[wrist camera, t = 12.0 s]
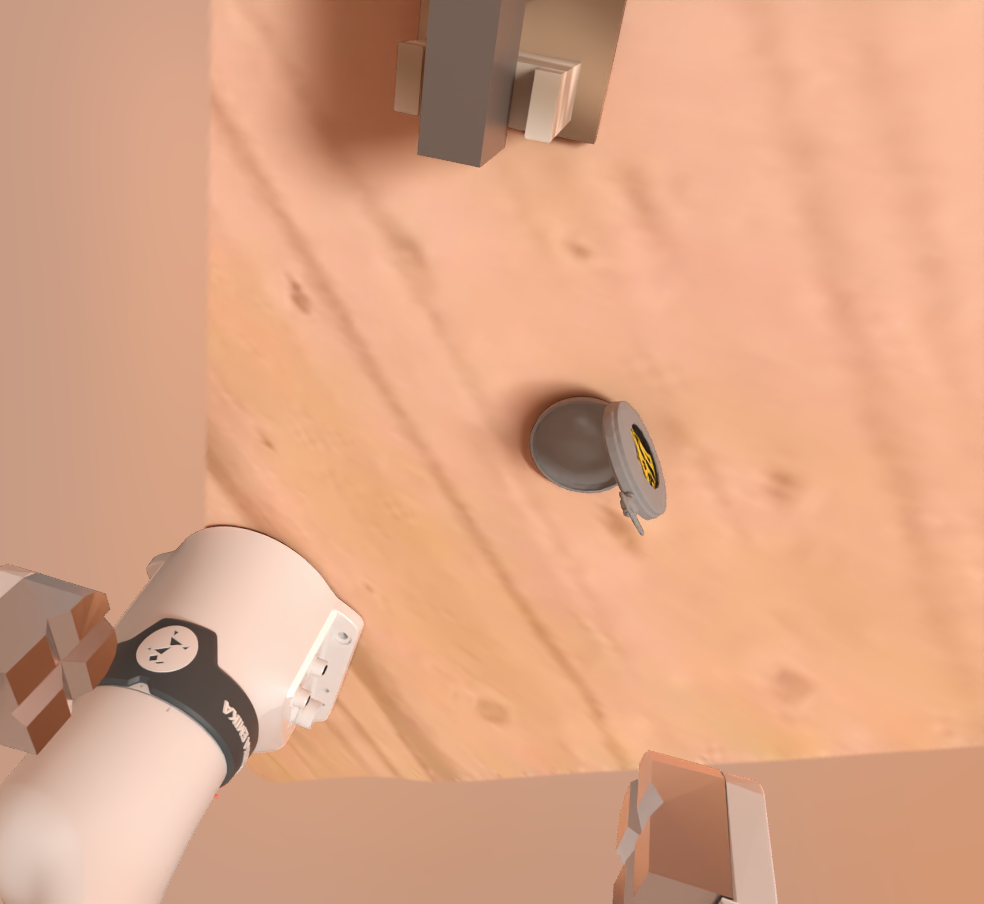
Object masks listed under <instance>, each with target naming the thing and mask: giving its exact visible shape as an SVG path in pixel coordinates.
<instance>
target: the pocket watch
mask: <svg viewBox="0 0 984 904" xmlns="http://www.w3.org/2000/svg"><path fill="white" fill-rule="evenodd" d="M530 450H531V455H532V458H533V460H534V462H535V464H536V466H537V468H538V469H539V470H540V471H541V473H542V474H543V475H544V476H545V477H546V478H548V479H549V480H550V481H551V482H553V483H554V484H556V485H558V486H559V487H562V488H564V489H567V490H569V491H575V492H581V493H598V492H602V491H606V490H610V489H612V488H614V487H615V486H617V485H618V486H619V488H620V490H621V492H619V495H620V498H621V500H620V504H621V508H622V510H623V514H624V516H626V517H630V518H631V519H632V521H633V523H634V525H635V527H636V528H637V530H638V532H639V533H640V535H642V536H643V535H644V531H643V529H642V527H641V525H640V523H639V521H638V519H637V517H636V515H637V513H638V514H639V515H640V516H641V517H642V518H644V519H645V520H650V519H654V518H657V517H658V516H659V515H661V514H663V513H664V512H665V509H666V487H665V481H664V477H663V473H662V469H661V465H660V461H659V459H658V456H657V453H656V450H655V447H654V445H653V442H652V439H651V437H650V435H649V433H648V431H647V429H646V427H645V425H644V424H643V422H642V420H641V418H640V416H639V415H638V413H637V412H636V411H635V409H634V408H633V407H632V406H631V405H630V404H629V403H627V402H626V401H621V402H613V403H611V404H610V403H608V402H606V401H603V400H600V399H596V398H593V397H573V398H567V399H564V400H561V401H559V402H557V403H555V404H553V405H551V406H550V407H548V408H547V409H546V410H545V411H544V412H543V413H542V414H541V415H540V416H539V418H538V420H537V421H536V423H535V425H534V427H533V429H532V431H531V437H530Z"/></svg>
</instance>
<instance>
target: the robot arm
mask: <svg viewBox="0 0 984 904" xmlns="http://www.w3.org/2000/svg"><path fill="white" fill-rule="evenodd" d="M147 574H148V576H149V579H150V580H149V582H148V583H147V584H146V585H145V587H144V588H143V590H142V591H141V592H140V593H139V595H138V596H137V597H136V598H135V600H134V601H133V603H132V604H131V605H130V606H129V608H128V609H127V610H126V612H125V613H124V614H123V616H122V617H121V618H120V620H119V621H118V622H117V624H116V625H115V626H114V628H113V627H112V626H111V625H110V623H109V622H108V621H107V620H106V619H105V618H104V617H103V616H104V615H105V614H106V613H107V612H108V611H109V610H110V607H109V603H108V600H107V597H106V594H105V593H102V592H98V591H95V590H92V589H88V588H85V587H82V586H79V585H76V584H72V583H69V582H66V581H62V580H59V579H56V578H53V577H49V576H46V575H43V574H41V573H38V572H34V571H31V570H27V569H24V568H21V567H17V566H14V565H10V564H6V565H3V566H0V745H3V746H7V747H10V748H13V749H17V750H20V751H24V752H27V754H26V756H25V757H24V758H23V759H22V760H21V761H20V763H19V764H18V765H17V766H16V767H15V768H14V770H13V771H12V772H11V773H10V774H9V775H8V776H7V777H6V779H5V780H4V781H3V782H2V783H1V784H0V898H1V899H2V901H3V903H4V904H161V901H162V899H163V896H164V894H165V891H166V889H167V887H168V884H169V882H170V880H171V878H172V876H173V874H174V872H175V869H176V867H177V865H178V863H179V861H180V859H181V857H182V855H183V853H184V851H185V849H186V847H187V845H188V843H189V841H190V839H191V837H192V835H193V833H194V832H195V830H196V828H197V826H198V824H199V822H200V821H201V819H202V817H203V815H204V813H205V811H206V810H207V808H208V806H209V804H210V803H211V801H212V799H213V797H215V798H219V795H218V794H216V792H217V790H218V789H219V788H225V785H226V784H227V783H228V782H229V781H230V780H231V778H232V777H233V776H234V775H235V774H237V773H238V772H239V771H240V770H241V769H242V767H243V766H244V765H245V763H246V761H247V760H248V758H249V756H250V755H251V754H254V753H264V752H271V751H276V750H278V749H280V748H282V747H283V746H284V745H285V744H286V742H287V741H288V739H289V737H290V736H291V734H292V732H293V730H294V728H295V727H296V725H298V726H300V727H303V728H305V729H311V728H312V726H313V724H314V722H319V721H324V720H326V719H327V718H328V716H329V715H330V713H331V711H332V710H333V707H334V704H335V702H336V699H337V696H338V694H339V691H340V688H341V686H342V683H343V680H344V678H345V675H346V672H347V670H348V667H349V664H350V662H351V659H352V656H353V654H354V651H355V648H356V645H357V643H358V640H359V637H360V635H361V632H362V629H363V626H364V623H363V620H362V618H361V617H360V616H359V615H358V614H357V613H356V612H355V611H354V610H353V609H351V608H350V607H349V606H348V605H346V604H345V603H344V602H342V601H341V600H340V599H338V598H337V597H336V596H335V594H334V593H333V592H332V591H331V589H330V588H329V586H328V585H327V584H326V582H325V581H324V579H323V578H322V577H321V575H320V574H319V573H318V572H317V571H316V570H315V569H314V568H313V567H312V566H311V565H310V564H309V563H308V562H307V561H306V560H305V559H304V558H302V557H301V556H300V555H299V554H297V553H296V552H295V551H293V550H292V549H290V548H289V547H287V546H285V545H284V544H282V543H280V542H278V541H276V540H274V539H272V538H270V537H268V536H265V535H263V534H260V533H257V532H254V531H251V530H247V529H242V528H237V527H223V526H221V527H211V528H206V529H202V530H200V531H197V532H195V533H193V534H192V535H190V536H189V537H188V538H187V539H185V541H184V542H183V543H182V544H181V545H180V546H179V547H178V548H177V549H176V550H175V551H172V552H168V553H164V554H160V555H158V556H156V557H154V558H153V559H152V561H151V562H150V564H149V565H148V566H147ZM616 851H617V853H618V855H619V857H620V859H621V861H622V863H623V865H624V866H623V868H622V869H621V871H620V873H619V875H618V877H617V879H616V881H615V883H614V888H613V889H614V890H613V904H778V902H777V894H776V885H775V877H774V869H773V861H772V852H771V844H770V837H769V828H768V820H767V811H766V804H765V796H764V791H763V789H762V787H761V785H760V783H759V782H757V781H755V780H752V779H747V778H744V777H740V776H737V775H733V774H729V773H725V772H722V771H719V769H716V768H712V767H709V766H705V765H701V764H698V763H694V762H690V761H687V760H683V759H679V758H676V757H672V756H668V755H665V754H661V753H657V752H654V751H650V750H648V751H647V752H646V753H644V755H643V757H642V759H641V761H640V763H639V778H638V779H637V780H635V781H632V782H631V783H630V785H629V787H628V790H627V792H626V794H625V797H624V801H623V805H622V809H621V813H620V819H619V825H618V833H617V846H616Z"/></svg>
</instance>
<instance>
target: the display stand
mask: <svg viewBox="0 0 984 904" xmlns="http://www.w3.org/2000/svg"><path fill="white" fill-rule="evenodd" d="M626 1H627V0H526V6H525V13H524V20H523V27H522V33H521V40H520V47H519V54H518V61H517V68H516V74H515V81H514V88H513V95H512V102H511V108H510V115H509V122H508V128H513V129H518V130H522V131H525V136H524V138H526V139H531V140H536V141H541V142H545V143H550V142H551V141H552V139H553V138H554V137H555V136H557V137H562V138H566V139H571V140H576V141H581V142H586V143H591V144H594V143H595V141H596V138H597V133H598V129H599V124H600V119H601V115H602V110H603V106H604V101H605V97H606V92H607V88H608V83H609V79H610V74H611V69H612V65H613V60H614V56H615V51H616V47H617V42H618V38H619V33H620V28H621V24H622V19H623V15H624V10H625V6H626ZM429 3H430V0H421V4H420V17H419V30H418V40H411V41H404V42H398V52H397V68H396V84H395V100H394V111H397V112H401V113H406V114H411V115H416V116H418V115H421V103H422V91H423V78H424V66H425V53H426V40H427V28H428V15H429Z"/></svg>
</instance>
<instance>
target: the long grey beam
mask: <svg viewBox="0 0 984 904" xmlns="http://www.w3.org/2000/svg"><path fill="white" fill-rule="evenodd" d="M525 6H526V0H430V3H429V15H428V28H427V40H426V53H425V66H424V78H423V91H422V103H421V116H420V129H419V141H418V155H423V156H427V157H432V158H437V159H442V160H446V161H451V162H456V163H461V164H465V165H470V166H475V167H481V166H482V165H484V164H485V163H486V162H487V161H488V160H490V159H491V158H492V157H493V156H495V155H496V154H497V153H498V152H500V151H501V150H502V149H503V148H504V147H505V143H506V136H507V129H508V122H509V115H510V108H511V102H512V95H513V88H514V81H515V74H516V68H517V61H518V54H519V47H520V40H521V33H522V27H523V20H524V13H525Z"/></svg>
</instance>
